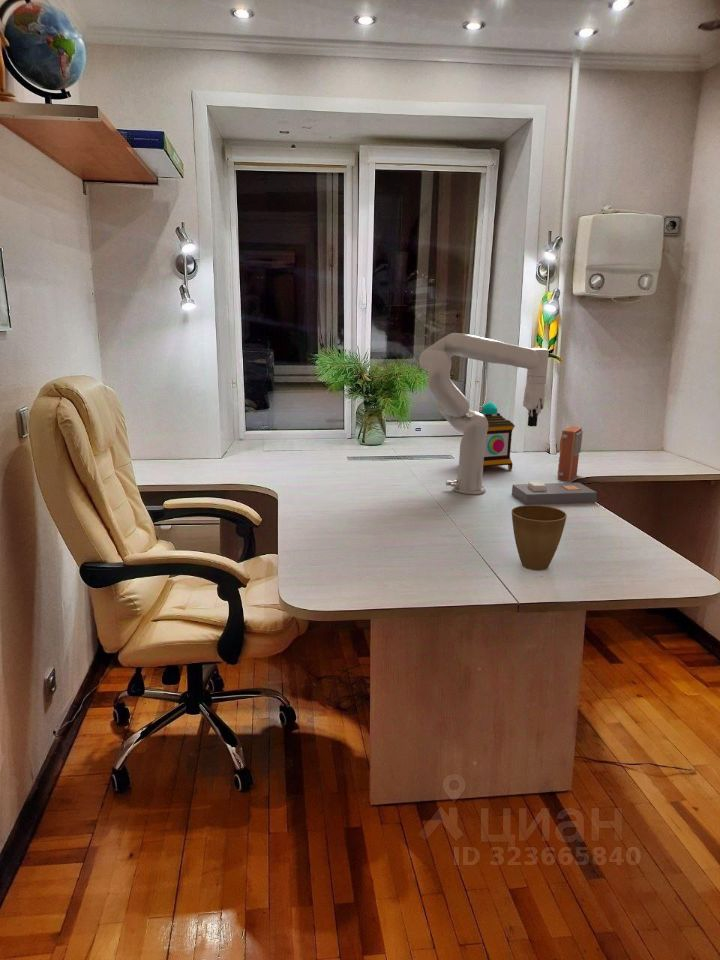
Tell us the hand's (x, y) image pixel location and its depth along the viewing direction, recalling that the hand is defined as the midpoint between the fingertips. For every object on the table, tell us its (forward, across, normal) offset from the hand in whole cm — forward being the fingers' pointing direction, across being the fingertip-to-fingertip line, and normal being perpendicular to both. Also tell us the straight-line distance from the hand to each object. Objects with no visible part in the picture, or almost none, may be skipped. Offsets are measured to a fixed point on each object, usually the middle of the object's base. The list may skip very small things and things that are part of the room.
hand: (532, 425), depth 263 cm
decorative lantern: (+25, -32, -6) cm, 41 cm away
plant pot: (+25, +81, -33) cm, 91 cm away
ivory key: (+22, +18, -4) cm, 29 cm away
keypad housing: (+25, +18, +3) cm, 31 cm away
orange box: (+25, -12, +24) cm, 37 cm away
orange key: (+24, +18, +10) cm, 32 cm away
